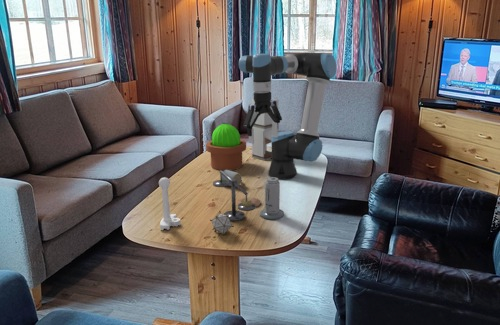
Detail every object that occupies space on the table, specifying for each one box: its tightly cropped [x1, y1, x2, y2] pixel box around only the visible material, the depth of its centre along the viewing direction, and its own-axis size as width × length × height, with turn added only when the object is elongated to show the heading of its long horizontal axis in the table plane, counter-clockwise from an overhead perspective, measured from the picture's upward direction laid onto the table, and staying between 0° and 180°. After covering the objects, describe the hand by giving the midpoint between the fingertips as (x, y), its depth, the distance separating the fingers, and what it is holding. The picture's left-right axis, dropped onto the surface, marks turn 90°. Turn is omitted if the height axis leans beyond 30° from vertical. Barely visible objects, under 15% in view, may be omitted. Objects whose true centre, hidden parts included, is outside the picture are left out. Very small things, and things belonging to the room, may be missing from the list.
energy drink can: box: [264, 176, 281, 215], centre depth 188 cm, size 6×6×15 cm
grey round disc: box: [260, 208, 285, 221], centre depth 190 cm, size 10×10×1 cm
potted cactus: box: [205, 122, 247, 171], centre depth 253 cm, size 22×22×25 cm
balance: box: [212, 170, 256, 223], centre depth 186 cm, size 25×9×18 cm, turn 37°
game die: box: [209, 211, 235, 236], centre depth 173 cm, size 9×8×10 cm
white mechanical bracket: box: [158, 177, 181, 231], centre depth 179 cm, size 11×8×20 cm
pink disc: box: [237, 196, 261, 208], centre depth 202 cm, size 10×10×1 cm
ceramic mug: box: [222, 170, 243, 188], centre depth 226 cm, size 11×8×8 cm
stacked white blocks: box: [251, 98, 279, 162], centre depth 268 cm, size 11×11×35 cm
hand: (263, 140), depth 197 cm, fingers open, 13 cm apart
